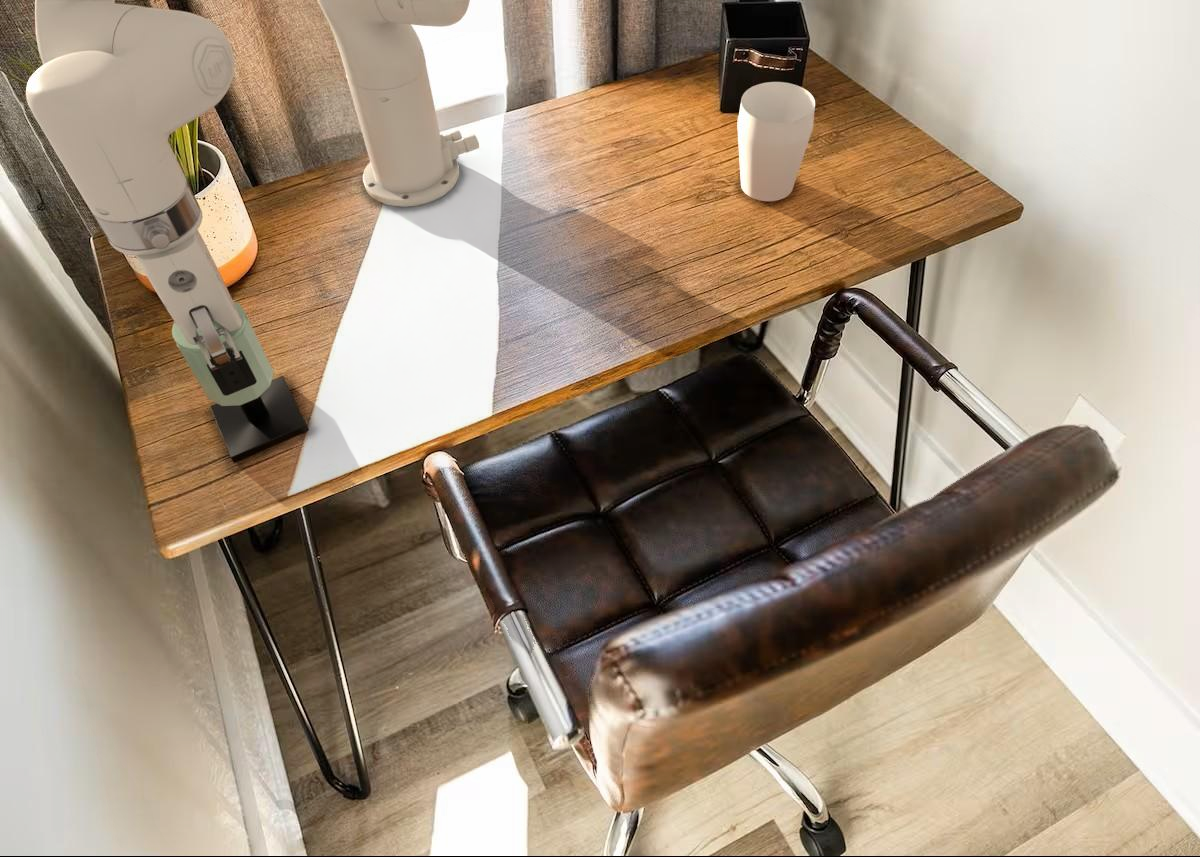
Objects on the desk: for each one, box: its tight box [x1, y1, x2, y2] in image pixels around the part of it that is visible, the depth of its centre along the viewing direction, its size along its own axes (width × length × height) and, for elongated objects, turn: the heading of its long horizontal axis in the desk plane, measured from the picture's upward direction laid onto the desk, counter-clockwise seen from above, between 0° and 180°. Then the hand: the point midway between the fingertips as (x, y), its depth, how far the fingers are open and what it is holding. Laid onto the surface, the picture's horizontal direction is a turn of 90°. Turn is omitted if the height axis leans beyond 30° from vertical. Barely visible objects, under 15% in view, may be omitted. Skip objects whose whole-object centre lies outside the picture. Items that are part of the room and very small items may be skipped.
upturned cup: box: [171, 300, 275, 406], centre depth 85 cm, size 7×7×8 cm
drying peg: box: [209, 375, 310, 464], centre depth 88 cm, size 8×8×14 cm
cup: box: [736, 81, 816, 202], centre depth 110 cm, size 9×9×12 cm
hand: (225, 355), depth 86 cm, fingers open, 9 cm apart
